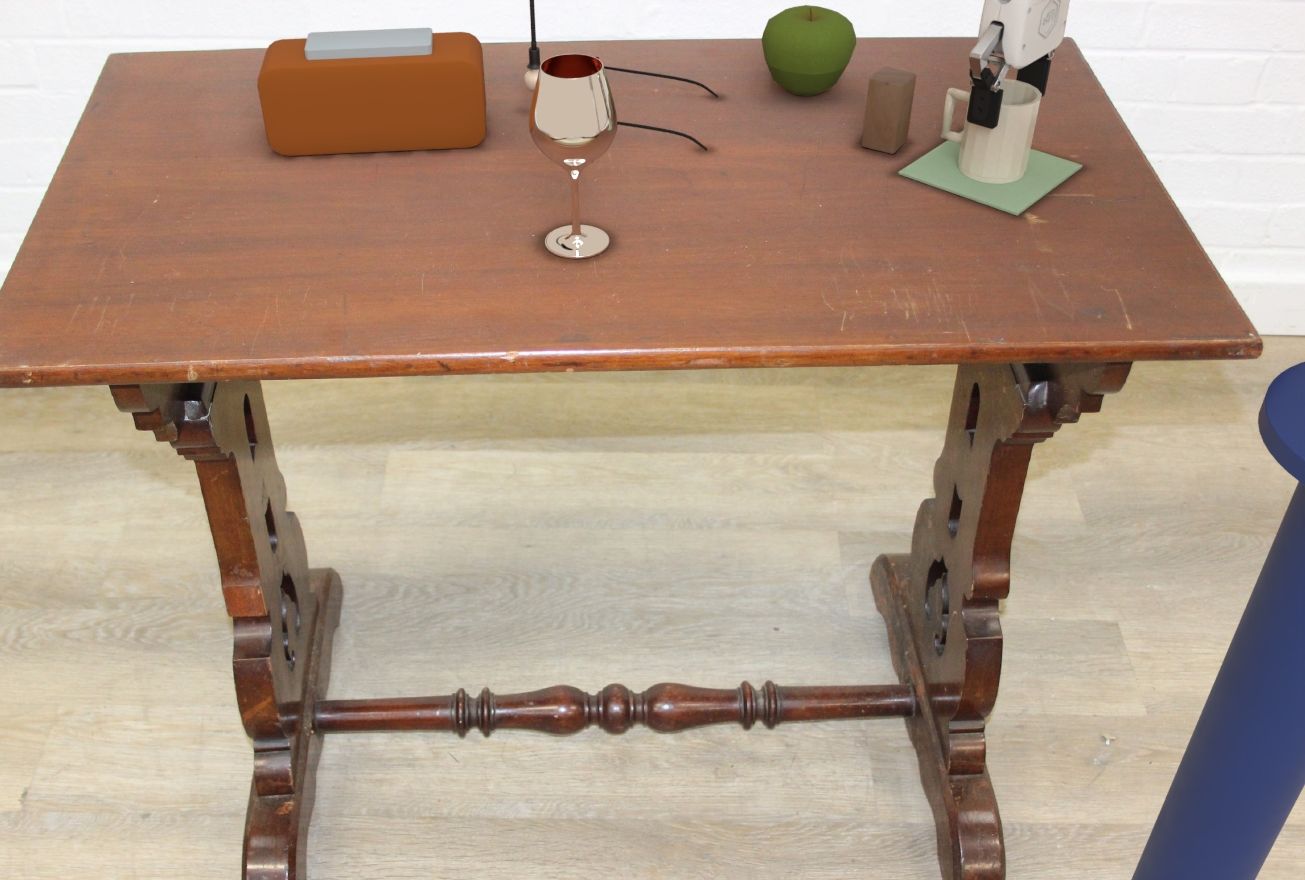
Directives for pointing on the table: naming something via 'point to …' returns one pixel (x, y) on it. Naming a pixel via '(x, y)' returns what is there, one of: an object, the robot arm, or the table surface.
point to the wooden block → (888, 109)
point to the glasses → (668, 78)
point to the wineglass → (573, 136)
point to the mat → (1007, 197)
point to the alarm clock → (373, 92)
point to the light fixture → (532, 54)
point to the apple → (808, 48)
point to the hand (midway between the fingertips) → (1005, 109)
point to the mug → (996, 135)
